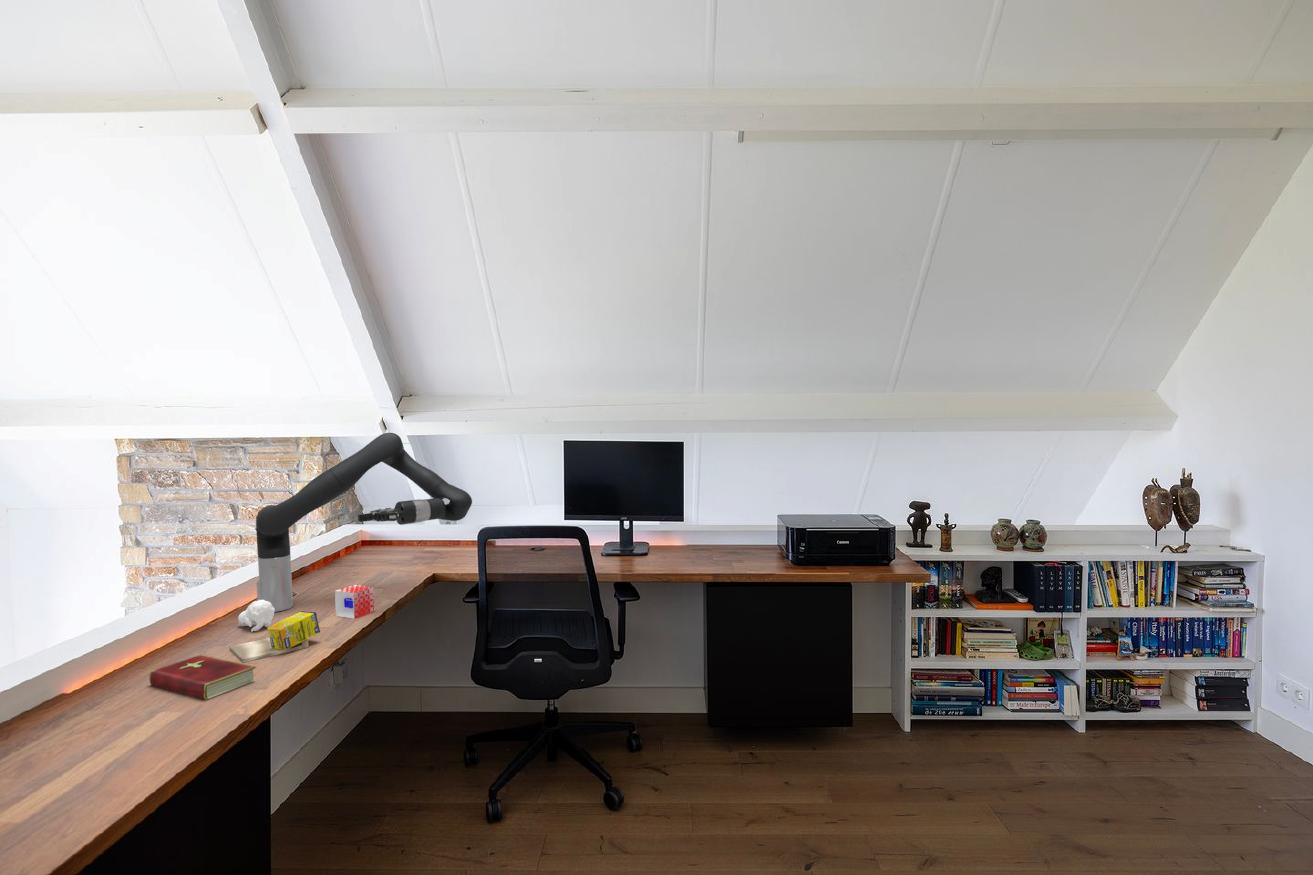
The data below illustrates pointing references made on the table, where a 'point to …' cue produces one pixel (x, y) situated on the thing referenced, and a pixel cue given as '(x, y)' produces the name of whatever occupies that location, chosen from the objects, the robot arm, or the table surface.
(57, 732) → the table surface
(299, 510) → the robot arm
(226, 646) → the table surface
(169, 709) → the table surface
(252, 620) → the white figurine
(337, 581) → the table surface
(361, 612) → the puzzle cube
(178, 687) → the hardcover book
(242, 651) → the board
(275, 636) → the supplement box
